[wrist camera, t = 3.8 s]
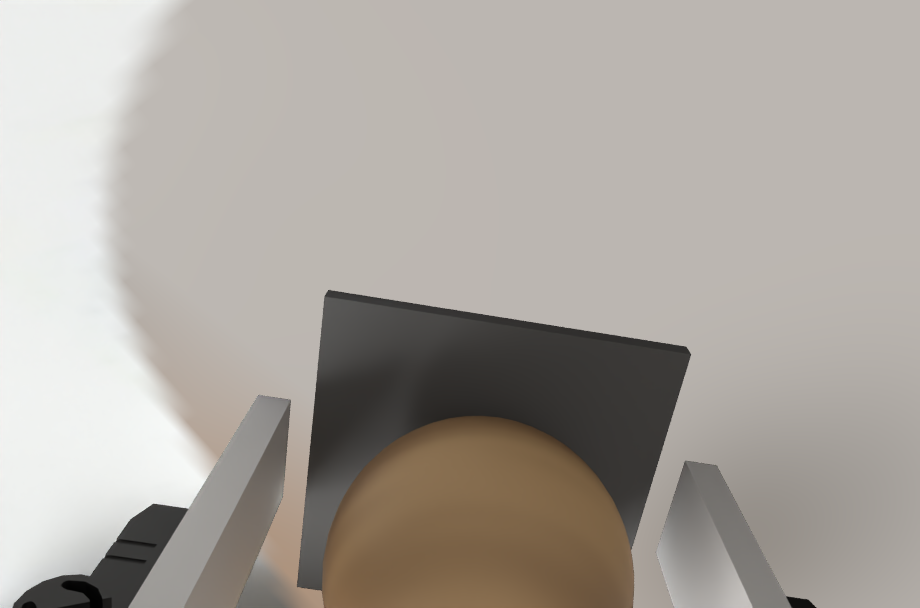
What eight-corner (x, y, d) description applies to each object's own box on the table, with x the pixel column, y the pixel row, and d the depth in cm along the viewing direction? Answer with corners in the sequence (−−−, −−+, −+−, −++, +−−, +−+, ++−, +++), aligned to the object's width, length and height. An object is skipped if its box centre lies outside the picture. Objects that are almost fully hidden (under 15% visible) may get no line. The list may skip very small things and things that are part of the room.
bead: (366, 345, 16) (300, 522, 10) (634, 387, 16) (715, 585, 10) (340, 561, 18) (274, 805, 12) (576, 596, 18) (618, 853, 12)
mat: (328, 289, 16) (324, 296, 15) (686, 346, 16) (691, 354, 16) (300, 575, 19) (297, 587, 18) (603, 620, 19) (606, 632, 18)
